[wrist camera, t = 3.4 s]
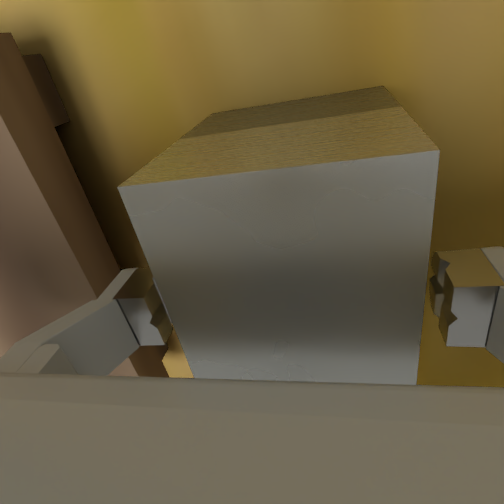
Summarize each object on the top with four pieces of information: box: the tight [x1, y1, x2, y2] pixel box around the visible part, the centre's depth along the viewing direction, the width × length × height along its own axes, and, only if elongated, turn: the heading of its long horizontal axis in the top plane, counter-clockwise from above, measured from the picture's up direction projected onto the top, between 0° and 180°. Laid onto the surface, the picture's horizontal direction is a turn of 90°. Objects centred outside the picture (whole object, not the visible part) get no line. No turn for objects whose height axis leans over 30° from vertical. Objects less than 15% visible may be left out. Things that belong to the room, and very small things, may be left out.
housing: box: [117, 86, 440, 385], centre depth 10 cm, size 5×8×6 cm, turn 10°
